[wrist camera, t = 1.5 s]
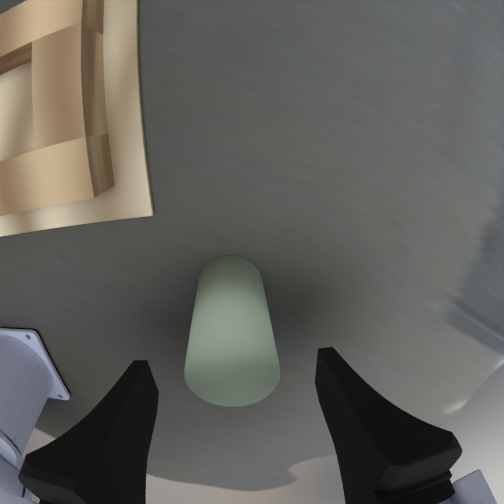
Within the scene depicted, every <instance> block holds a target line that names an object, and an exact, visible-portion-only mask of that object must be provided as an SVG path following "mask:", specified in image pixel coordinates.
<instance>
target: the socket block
mask: <svg viewBox="0 0 504 504" xmlns="http://www.w3.org/2000/svg"><path fill="white" fill-rule="evenodd" d="M138 9H139V0H27V1H25V2H23V3H21V4H19V5H17V6H15V7H13V8H12V9H10V10H8V11H6V12H4V13H3V14H1V15H0V237H1V236H7V235H13V234H19V233H25V232H31V231H38V230H44V229H51V228H58V227H65V226H72V225H79V224H87V223H94V222H102V221H110V220H118V219H127V218H135V217H144V216H153V215H154V209H153V202H152V195H151V188H150V180H149V173H148V164H147V156H146V146H145V137H144V126H143V114H142V101H141V86H140V66H139V28H138Z"/></svg>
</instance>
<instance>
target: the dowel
mask: <svg viewBox="0 0 504 504" xmlns="http://www.w3.org/2000/svg"><path fill="white" fill-rule="evenodd" d="M280 375H281V372H280V365H279V360H278V356H277V351H276V346H275V341H274V336H273V331H272V326H271V321H270V316H269V311H268V306H267V301H266V296H265V291H264V286H263V281H262V277H261V274H260V272H259V270H258V269H257V267H256V266H255V265H254V264H253V263H252V262H250V261H249V260H247V259H245V258H242V257H238V256H222V257H219V258H216V259H214V260H212V261H211V262H209V263H208V264H207V265H206V266H205V267H204V268H203V270H202V272H201V274H200V276H199V281H198V287H197V292H196V298H195V304H194V310H193V316H192V323H191V329H190V335H189V342H188V348H187V355H186V362H185V369H184V378H185V381H186V384H187V386H188V387H189V389H190V390H191V391H192V392H193V393H194V394H195V395H196V396H198V397H199V398H201V399H202V400H204V401H206V402H209V403H211V404H215V405H219V406H226V407H238V406H245V405H250V404H253V403H256V402H258V401H260V400H262V399H264V398H265V397H267V396H268V395H269V394H271V393H272V392H273V391H274V390H275V388H276V387H277V385H278V383H279V380H280Z"/></svg>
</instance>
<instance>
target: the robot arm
mask: <svg viewBox="0 0 504 504" xmlns="http://www.w3.org/2000/svg"><path fill="white" fill-rule="evenodd" d="M315 384H316V389H317V394H318V399H319V403H320V406H321V408H322V411H323V414H324V417H325V420H326V423H327V426H328V428H329V431H330V434H331V437H332V440H333V443H334V446H335V450H336V454H337V458H338V463H339V468H340V472H341V478H342V483H343V489H344V495H345V502H346V504H497V503H496V500H495V498H494V496H493V494H492V492H491V490H490V488H489V486H488V484H487V482H486V480H485V478H484V476H483V475H482V472H481V471H480V470H479V469H478V470H476V471H474V472H472V473H470V474H468V475H467V476H464V477H463V478H460V479H459V480H457V481H455V482H454V483H453V484H452V483H451V481H450V478H451V477H452V474H451V472H450V470H449V469H450V468H451V467H452V466H453V464H454V463H455V462H456V461H457V460H458V459H459V457H460V456H461V454H462V448H461V446H460V444H459V442H458V440H457V439H456V437H455V436H454V435H453V433H452V432H450V431H447V430H444V429H441V428H439V427H436V426H433V425H431V424H428V423H426V422H424V421H422V420H420V419H418V418H416V417H414V416H412V415H410V414H408V413H407V412H405V411H403V410H401V409H400V408H398V407H397V406H395V405H394V404H392V403H391V402H389V401H388V400H387V399H385V398H384V397H383V396H381V395H380V394H379V393H378V392H376V391H375V390H374V389H373V388H372V387H371V386H370V385H368V384H367V383H366V382H365V381H364V380H363V379H362V378H361V377H360V376H359V375H358V374H357V373H356V372H355V371H354V370H353V369H352V368H351V367H350V366H349V365H348V364H347V363H346V361H345V360H344V359H343V358H342V357H341V356H340V355H339V354H338V352H337V351H336V350H335V349H334V348H333V347H328V348H320V349H318V356H317V366H316V376H315ZM158 394H159V392H158V389H157V386H156V384H155V381H154V378H153V375H152V373H151V370H150V367H149V364H148V361H147V360H134V361H133V362H132V364H131V365H130V366H129V367H128V369H127V370H126V371H125V372H124V374H123V375H122V376H121V377H120V379H119V380H118V381H117V383H116V384H115V385H114V386H113V387H112V389H111V390H110V391H109V392H108V393H107V395H106V396H105V397H104V398H103V399H102V400H101V401H100V402H99V404H98V405H97V406H96V407H95V408H94V409H93V410H92V411H91V412H90V413H89V414H88V415H87V416H86V417H84V418H83V419H82V420H81V421H80V422H79V423H78V424H76V425H75V426H74V427H72V428H71V429H70V430H68V431H67V432H66V433H64V434H63V435H62V436H60V437H59V438H57V439H55V440H54V441H52V442H50V443H49V444H47V445H45V446H43V447H41V448H39V449H37V450H35V451H33V452H31V453H29V454H27V455H26V457H25V459H23V457H22V454H23V452H24V449H25V447H26V445H27V443H28V440H29V438H30V436H31V433H32V431H33V429H34V427H35V424H36V422H37V420H38V418H39V416H40V413H41V411H42V409H43V407H44V405H45V403H46V401H47V399H48V397H49V398H55V399H62V400H69V399H70V394H69V393H68V391H67V389H66V387H65V386H64V384H63V382H62V380H61V378H60V377H59V375H58V373H57V371H56V369H55V367H54V366H53V364H52V362H51V360H50V358H49V356H48V354H47V352H46V350H45V348H44V346H43V344H42V341H41V339H40V337H39V335H38V333H37V332H36V331H34V330H24V329H7V328H0V504H37V503H35V502H34V501H32V493H33V494H34V495H35V496H37V497H38V498H39V499H40V502H39V504H146V502H145V500H146V498H145V493H146V492H145V490H146V469H147V458H148V452H149V447H150V443H151V438H152V433H153V429H154V424H155V419H156V415H157V407H158Z"/></svg>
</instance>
